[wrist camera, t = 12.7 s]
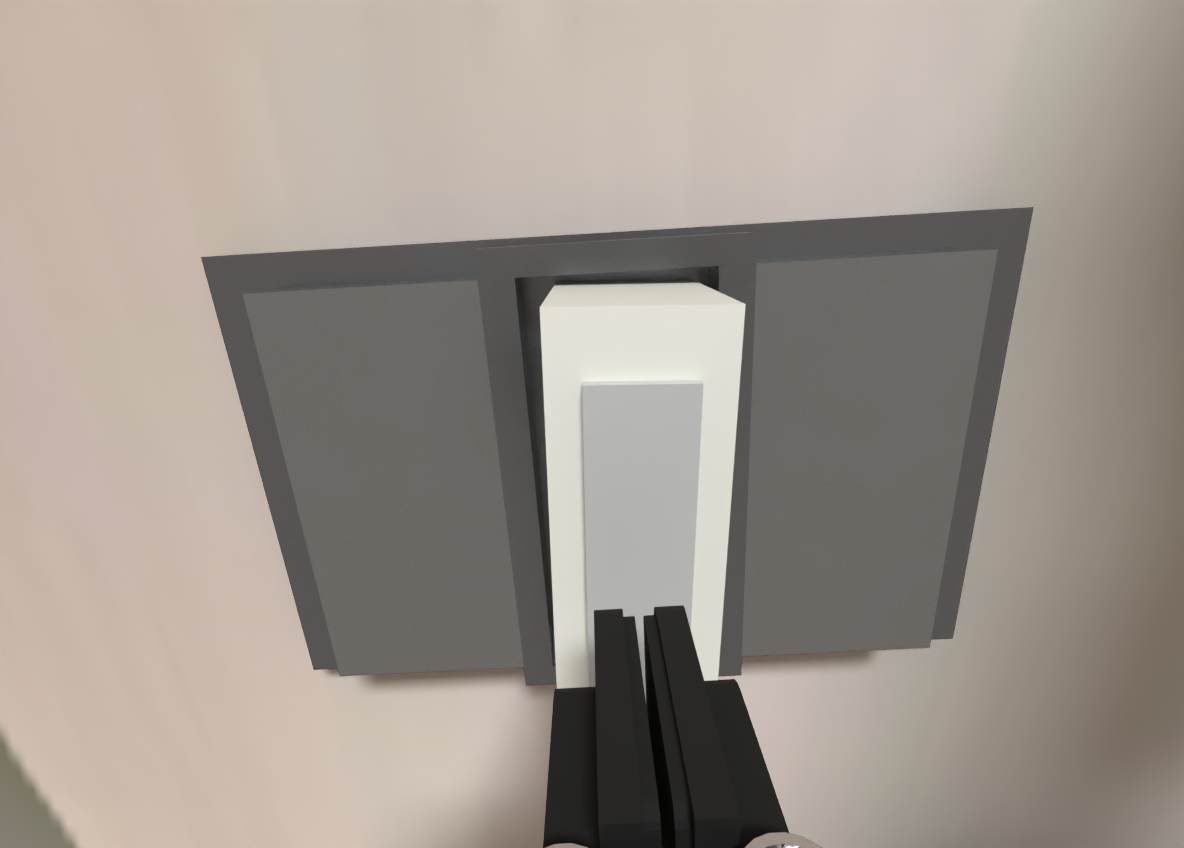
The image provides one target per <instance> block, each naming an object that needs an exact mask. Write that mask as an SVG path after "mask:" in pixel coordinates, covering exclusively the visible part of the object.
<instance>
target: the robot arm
mask: <svg viewBox="0 0 1184 848" xmlns="http://www.w3.org/2000/svg"><path fill="white" fill-rule="evenodd" d="M643 623H644V653H645V684H646V700H645V692H644V685H643V677H642V669H641V661H640V654H639V646H638V638H637V630H636V623H635V616H627V617H623V609H605V610H594V642H595V687H580V688H561V689H555V692H554V701H553V715H552V729H551V744H550V758H549V772H548V786H547V801H546V815H545V829H544V843H543V848H822V847H821V846H819V845H817V844H815V843H814V842H812V841H810V840H808V839H806V838H805V837H802V836H798V835H794V834H790V833H789V831H788V828H787V825H786V822H785V819H784V816H783V813H782V810H781V808H780V805H779V802H778V799H777V796H776V793H775V790H774V787H773V784H772V781H771V778H770V775H769V772H768V770H767V767H766V764H765V761H764V758H763V755H762V752H761V749H760V746H759V743H758V740H757V737H756V734H755V731H754V729H753V726H752V723H751V720H750V717H749V714H748V711H747V708H746V705H745V702H744V699H743V696H742V693H741V691H740V688H739V686H738V683H737V682H736V680H735V679H730V680H711V681H704V678H703V674H702V671H701V667H700V663H699V660H698V656H697V652H696V648H695V645H694V641H693V637H692V633H691V630H690V626H689V622H688V618H687V615H686V611H685V608H684V606H683V605H679V606H660V607H654V615H645V616H644V617H643Z"/></svg>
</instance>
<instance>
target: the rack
mask: <svg viewBox="0 0 1184 848" xmlns="http://www.w3.org/2000/svg"><path fill="white" fill-rule="evenodd" d="M1032 212H1033V207H1029V208H1011V209H994V210H978V211H961V212H944V213H928V214H911V215H894V216H878V217H861V218H844V219H828V220H811V221H794V222H778V223H761V224H744V225H728V226H711V227H694V228H678V229H661V230H644V231H628V232H611V233H594V234H578V235H561V236H544V237H528V238H511V239H494V240H478V241H461V242H444V243H428V244H411V245H394V246H378V247H361V248H344V249H328V250H311V251H294V252H278V253H261V254H244V255H228V256H212V257H201V259H202V262H203V266H204V270H205V273H206V277H207V281H208V284H209V288H210V292H211V295H212V299H213V303H214V306H215V310H216V314H217V317H218V321H219V325H220V328H221V332H222V336H223V339H224V343H225V347H226V350H227V354H228V358H229V361H230V365H231V368H232V372H233V376H234V379H235V383H236V387H237V390H238V394H239V398H240V401H241V405H242V409H243V412H244V416H245V420H246V423H247V427H248V431H249V434H250V438H251V442H252V445H253V449H254V453H255V456H256V460H257V464H258V467H259V471H260V475H261V478H262V482H263V486H264V489H265V493H266V497H267V500H268V504H269V508H270V511H271V515H272V519H273V522H274V526H275V530H276V533H277V537H278V541H279V544H280V548H281V552H282V555H283V559H284V563H285V566H286V570H287V574H288V577H289V581H290V585H291V588H292V592H293V596H294V599H295V603H296V607H297V610H298V614H299V618H300V621H301V625H302V628H303V632H304V636H305V639H306V643H307V647H308V650H309V654H310V658H311V661H312V665H313V669H314V670H319V669H338V670H339V674H340V676H353V675H374V674H394V673H415V672H435V671H456V670H476V669H497V668H518V667H524V672H525V680H526V686H527V685H548V684H557V683H556V661H555V638H554V616H553V594H552V572H551V549H550V527H549V505H548V482H547V460H546V438H545V416H544V393H543V371H542V349H541V326H540V306H541V305H542V303H543V302H544V300H545V299H546V297H547V296H548V294H549V293H550V291H551V290H552V288H553V287H554V285H555V284H556V282H560V281H624V280H688V279H692V280H694V281H696V282H699V283H701V284H703V285H705V286H707V287H709V288H712V289H714V290H716V291H718V292H720V293H722V294H725V295H727V296H729V297H731V298H733V299H735V300H738V301H740V302H742V303H744V304H746V305H745V319H744V333H743V346H742V360H741V373H740V387H739V401H738V414H737V428H736V441H735V455H734V469H733V482H732V496H731V510H730V523H729V537H728V550H727V564H726V578H725V591H724V605H723V618H722V632H721V646H720V659H719V673H718V676H735V675H741V664H742V657H744V656H764V655H785V654H805V653H826V652H846V651H867V650H887V649H908V648H928V647H930V642H931V640H932V639H953V634H954V629H955V623H956V618H957V613H958V607H959V602H960V597H961V591H962V586H963V581H964V575H965V570H966V565H967V559H968V554H969V549H970V543H971V538H972V533H973V527H974V522H975V517H976V511H977V506H978V501H979V495H980V490H981V485H982V479H983V474H984V469H985V463H986V458H987V453H988V447H989V442H990V437H991V431H992V426H993V420H994V415H995V410H996V404H997V399H998V394H999V388H1000V383H1001V378H1002V372H1003V367H1004V362H1005V356H1006V351H1007V346H1008V340H1009V335H1010V330H1011V324H1012V319H1013V314H1014V308H1015V303H1016V298H1017V292H1018V287H1019V282H1020V276H1021V271H1022V266H1023V260H1024V255H1025V250H1026V244H1027V239H1028V234H1029V228H1030V223H1031V217H1032Z"/></svg>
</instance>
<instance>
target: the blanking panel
mask: <svg viewBox="0 0 1184 848" xmlns="http://www.w3.org/2000/svg"><path fill="white" fill-rule="evenodd" d="M745 305H746V304H744V303H742V302H740V301H738V300H735V299H733V298H731V297H729V296H727V295H725V294H722V293H720V292H718V291H716V290H714V289H712V288H709V287H707V286H705V285H703V284H701V283H699V282H696V281H694V280H692V279H688V280H624V281H560V282H556V284H555V285H554V287H553V288H552V290H551V291H550V293H549V294H548V296H547V297H546V299H545V300H544V302H543V303H542V305H541V306H540V326H541V349H542V371H543V393H544V416H545V438H546V460H547V482H548V505H549V527H550V549H551V572H552V594H553V616H554V638H555V661H556V683H557V689H561V688H580V687H595V642H594V610H605V609H623V617H627V616H635V623H636V630H637V638H638V646H639V654H640V661H641V669H642V677H643V685H644V692H645V700H646V684H645V653H644V623H643V617H644V616H645V615H654V607H660V606H679V605H683V606H684V608H685V611H686V615H687V618H688V622H689V626H690V630H691V633H692V637H693V641H694V645H695V648H696V652H697V656H698V660H699V663H700V667H701V671H702V674H703V678H704V681H711V680H718V673H719V659H720V646H721V632H722V618H723V605H724V591H725V578H726V564H727V550H728V537H729V523H730V510H731V496H732V482H733V469H734V455H735V441H736V428H737V414H738V401H739V387H740V373H741V360H742V346H743V333H744V319H745Z"/></svg>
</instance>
